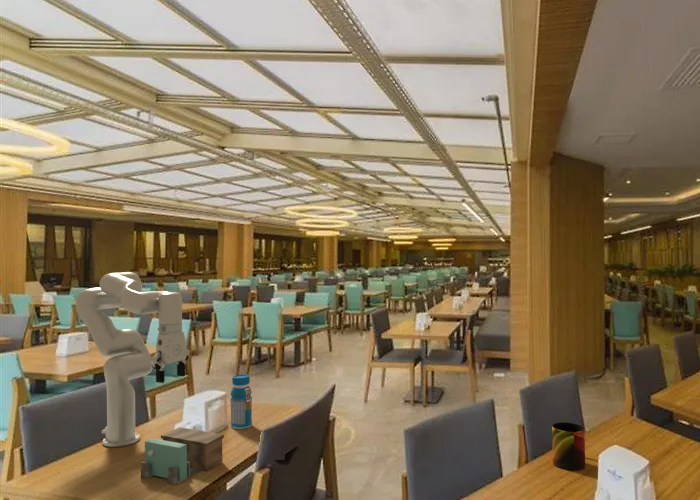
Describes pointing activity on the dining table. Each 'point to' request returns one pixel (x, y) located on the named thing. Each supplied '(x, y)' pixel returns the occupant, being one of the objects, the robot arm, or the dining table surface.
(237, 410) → the beverage bottle
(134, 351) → the robot arm
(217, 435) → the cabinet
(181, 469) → the green rectangular block
